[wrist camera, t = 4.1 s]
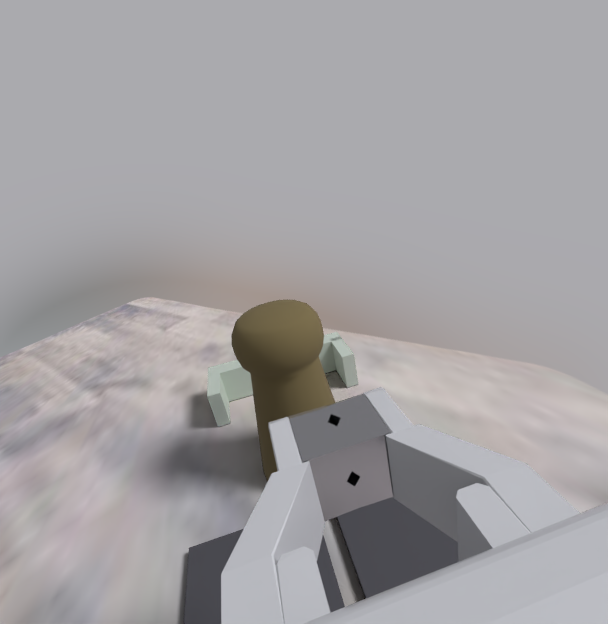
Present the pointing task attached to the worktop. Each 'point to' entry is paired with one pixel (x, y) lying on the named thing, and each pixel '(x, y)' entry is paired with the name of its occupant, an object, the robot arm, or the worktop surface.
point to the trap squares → (361, 545)
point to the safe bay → (237, 382)
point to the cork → (281, 364)
